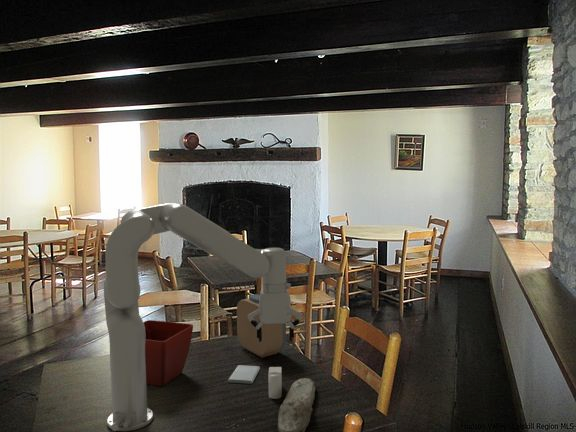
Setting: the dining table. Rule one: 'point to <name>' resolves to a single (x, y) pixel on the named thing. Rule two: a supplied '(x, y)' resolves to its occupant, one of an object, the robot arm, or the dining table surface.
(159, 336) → the plant pot
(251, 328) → the alarm clock
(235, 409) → the dining table surface
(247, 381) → the hard drive
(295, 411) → the long grey stone
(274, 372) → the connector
